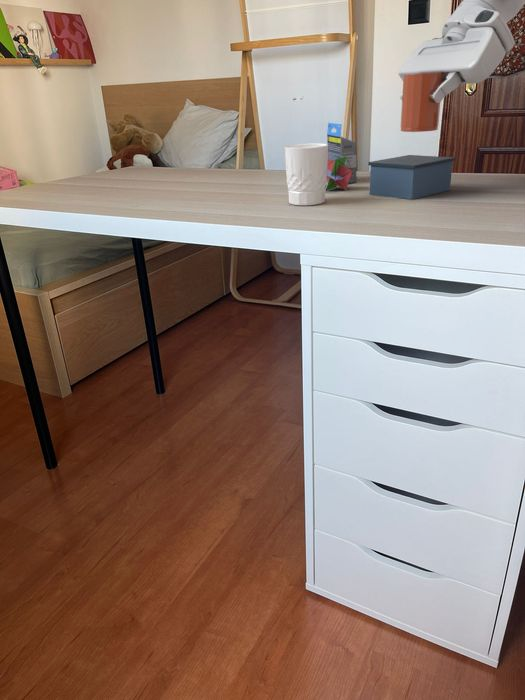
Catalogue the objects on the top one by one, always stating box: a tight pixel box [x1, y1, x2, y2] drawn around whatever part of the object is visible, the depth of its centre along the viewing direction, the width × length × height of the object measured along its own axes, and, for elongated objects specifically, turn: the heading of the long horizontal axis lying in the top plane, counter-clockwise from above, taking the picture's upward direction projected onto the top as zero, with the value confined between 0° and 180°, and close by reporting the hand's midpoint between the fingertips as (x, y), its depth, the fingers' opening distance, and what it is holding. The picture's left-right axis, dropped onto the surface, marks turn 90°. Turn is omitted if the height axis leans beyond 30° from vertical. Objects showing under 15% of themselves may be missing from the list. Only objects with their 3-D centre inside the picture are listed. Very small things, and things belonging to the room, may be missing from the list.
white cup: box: [283, 142, 328, 207], centre depth 97 cm, size 8×8×10 cm
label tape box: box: [326, 121, 358, 184], centre depth 117 cm, size 9×4×12 cm, turn 13°
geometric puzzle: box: [325, 157, 353, 192], centre depth 108 cm, size 7×7×8 cm
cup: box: [400, 73, 443, 133], centre depth 92 cm, size 6×6×9 cm
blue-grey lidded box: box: [367, 154, 456, 200], centre depth 102 cm, size 13×11×6 cm
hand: (418, 100), depth 92 cm, fingers closed on cup, 6 cm apart
